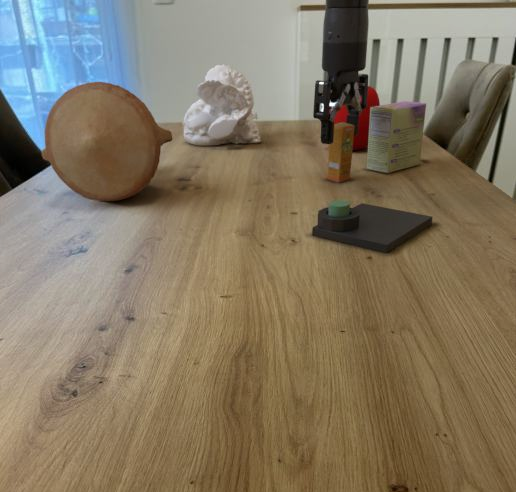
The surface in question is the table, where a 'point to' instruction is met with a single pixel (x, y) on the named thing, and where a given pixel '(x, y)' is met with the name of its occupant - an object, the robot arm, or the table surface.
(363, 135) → the red apple
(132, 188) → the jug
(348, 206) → the button
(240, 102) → the white sculpted figurine
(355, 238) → the dark grey button base
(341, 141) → the supplement box
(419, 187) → the table surface
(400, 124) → the box
